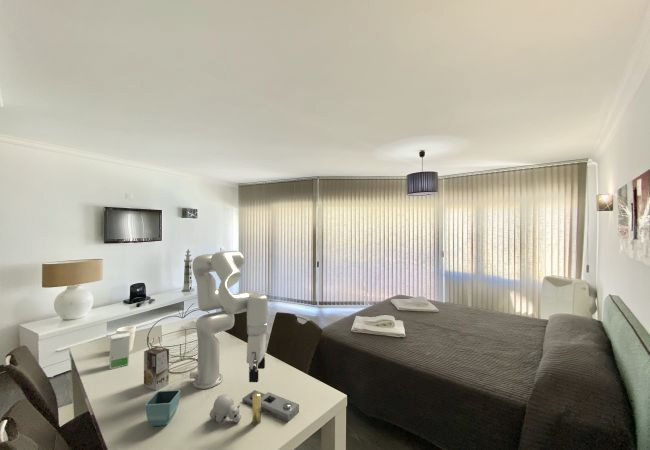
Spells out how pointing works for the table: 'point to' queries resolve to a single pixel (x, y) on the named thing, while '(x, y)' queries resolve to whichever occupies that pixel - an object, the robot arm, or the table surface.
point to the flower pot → (162, 407)
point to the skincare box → (119, 350)
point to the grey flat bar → (275, 405)
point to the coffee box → (156, 367)
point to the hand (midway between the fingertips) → (257, 374)
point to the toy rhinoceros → (225, 409)
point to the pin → (256, 408)
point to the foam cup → (131, 331)
